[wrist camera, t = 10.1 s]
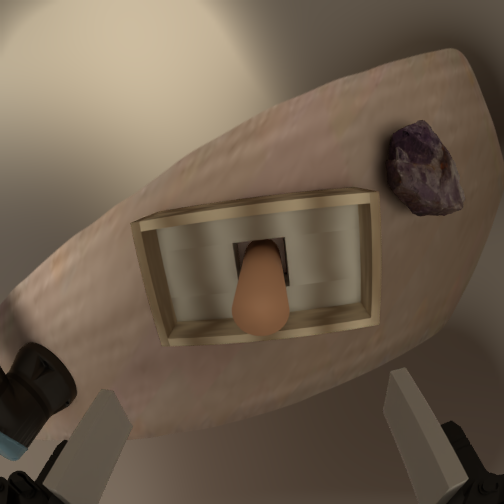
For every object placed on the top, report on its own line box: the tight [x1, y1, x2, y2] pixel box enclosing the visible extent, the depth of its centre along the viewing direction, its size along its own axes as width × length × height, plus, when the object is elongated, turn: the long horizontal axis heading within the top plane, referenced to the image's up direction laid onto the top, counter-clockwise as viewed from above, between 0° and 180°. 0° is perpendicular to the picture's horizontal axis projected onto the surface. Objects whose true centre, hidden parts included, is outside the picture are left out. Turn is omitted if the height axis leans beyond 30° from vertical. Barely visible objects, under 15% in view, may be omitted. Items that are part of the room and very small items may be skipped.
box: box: [130, 187, 382, 346], centre depth 31 cm, size 24×14×8 cm, turn 98°
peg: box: [232, 239, 290, 336], centre depth 28 cm, size 4×4×15 cm
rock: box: [386, 120, 465, 216], centre depth 28 cm, size 12×9×10 cm
